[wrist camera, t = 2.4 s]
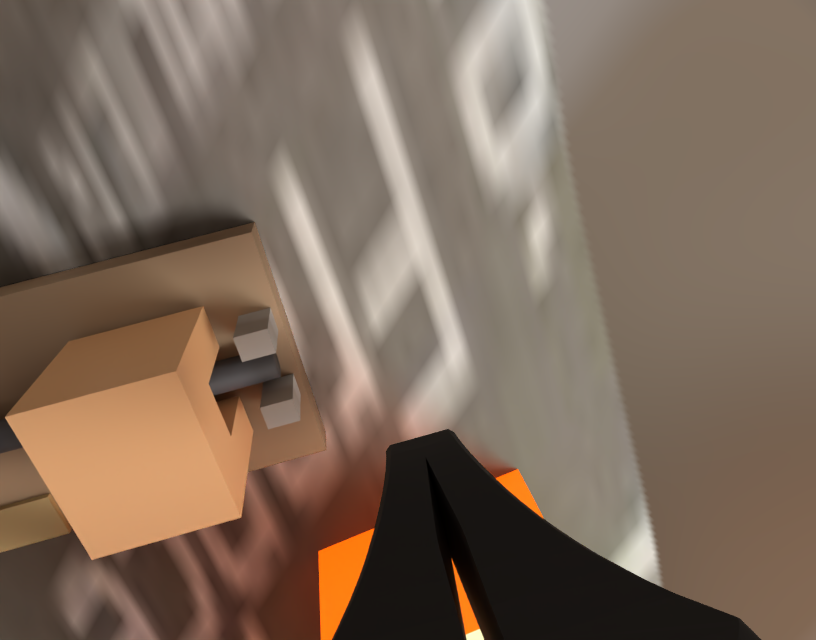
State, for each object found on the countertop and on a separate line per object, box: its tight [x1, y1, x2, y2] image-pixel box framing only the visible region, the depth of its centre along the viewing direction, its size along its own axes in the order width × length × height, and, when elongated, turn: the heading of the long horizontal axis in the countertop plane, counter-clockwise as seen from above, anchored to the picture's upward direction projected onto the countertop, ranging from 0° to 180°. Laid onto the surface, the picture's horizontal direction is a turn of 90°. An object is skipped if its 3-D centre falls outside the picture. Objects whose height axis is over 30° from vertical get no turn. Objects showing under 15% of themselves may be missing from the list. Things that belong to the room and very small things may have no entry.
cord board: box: [0, 222, 326, 553], centre depth 17 cm, size 9×17×5 cm, turn 102°
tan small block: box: [5, 306, 253, 560], centre depth 17 cm, size 5×4×4 cm
